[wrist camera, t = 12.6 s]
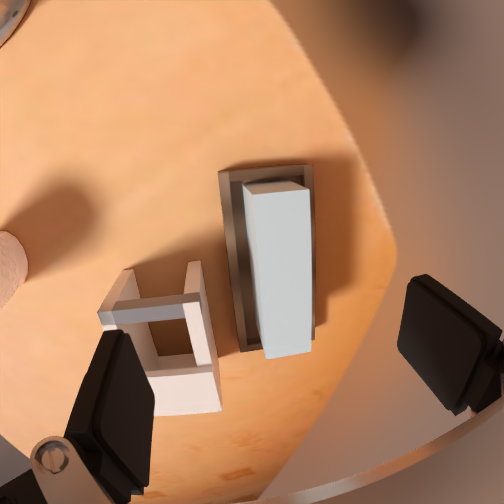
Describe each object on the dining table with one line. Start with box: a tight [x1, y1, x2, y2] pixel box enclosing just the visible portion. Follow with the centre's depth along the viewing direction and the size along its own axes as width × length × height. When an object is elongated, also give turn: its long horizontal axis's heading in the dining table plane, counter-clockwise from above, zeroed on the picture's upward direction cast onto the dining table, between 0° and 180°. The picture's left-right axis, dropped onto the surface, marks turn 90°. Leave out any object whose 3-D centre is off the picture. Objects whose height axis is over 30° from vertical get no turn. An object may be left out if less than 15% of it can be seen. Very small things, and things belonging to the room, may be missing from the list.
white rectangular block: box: [242, 180, 312, 360], centre depth 25 cm, size 14×4×6 cm, turn 5°
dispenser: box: [97, 260, 223, 416], centre depth 26 cm, size 12×8×9 cm, turn 5°
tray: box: [218, 164, 316, 352], centre depth 28 cm, size 18×8×2 cm, turn 5°
